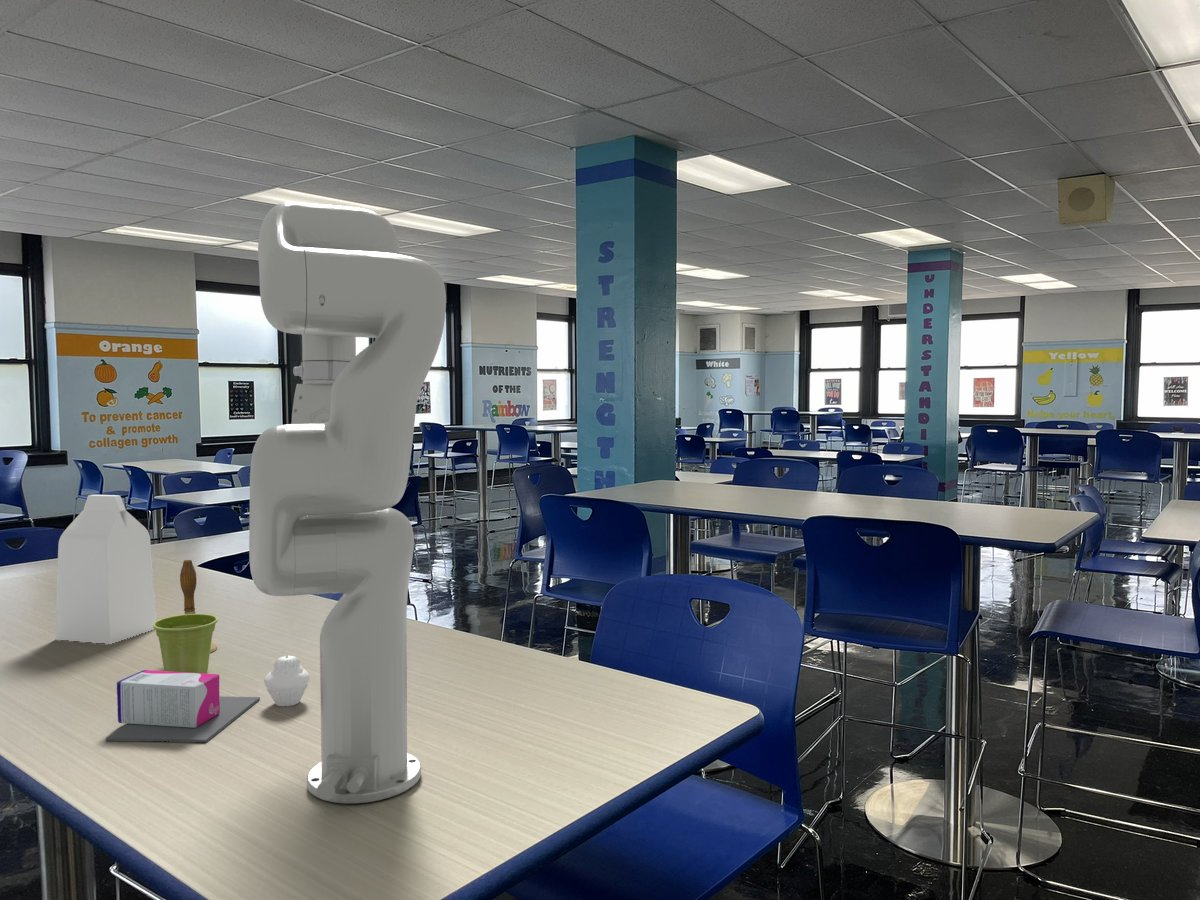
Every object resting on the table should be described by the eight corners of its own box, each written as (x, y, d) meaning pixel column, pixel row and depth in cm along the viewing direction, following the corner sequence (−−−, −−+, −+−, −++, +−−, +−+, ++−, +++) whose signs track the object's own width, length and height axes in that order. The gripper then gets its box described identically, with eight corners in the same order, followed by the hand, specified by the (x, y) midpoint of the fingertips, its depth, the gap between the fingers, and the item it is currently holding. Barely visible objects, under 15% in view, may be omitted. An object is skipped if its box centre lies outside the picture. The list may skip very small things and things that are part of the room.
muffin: (319, 700, 126) (318, 653, 126) (284, 713, 121) (283, 663, 120) (290, 693, 129) (289, 646, 129) (255, 705, 124) (254, 657, 123)
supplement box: (117, 725, 115) (195, 729, 113) (115, 681, 115) (193, 684, 113) (147, 710, 121) (221, 714, 119) (145, 668, 121) (220, 671, 119)
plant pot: (232, 668, 141) (231, 615, 140) (190, 686, 132) (188, 630, 131) (184, 663, 143) (183, 611, 143) (139, 681, 134) (138, 625, 134)
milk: (55, 639, 157) (51, 497, 156) (105, 624, 169) (101, 491, 167) (110, 644, 154) (106, 499, 153) (157, 628, 166) (154, 493, 164)
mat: (206, 742, 110) (206, 739, 110) (106, 740, 111) (106, 737, 111) (259, 699, 126) (259, 697, 126) (172, 698, 127) (172, 695, 127)
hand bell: (171, 661, 145) (169, 566, 144) (159, 650, 151) (157, 559, 151) (223, 652, 150) (221, 561, 149) (209, 641, 157) (207, 554, 156)
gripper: (268, 373, 124) (270, 501, 125) (372, 373, 123) (373, 502, 124) (289, 375, 131) (291, 495, 132) (387, 375, 131) (388, 496, 132)
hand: (331, 498), depth 128 cm, fingers closed
